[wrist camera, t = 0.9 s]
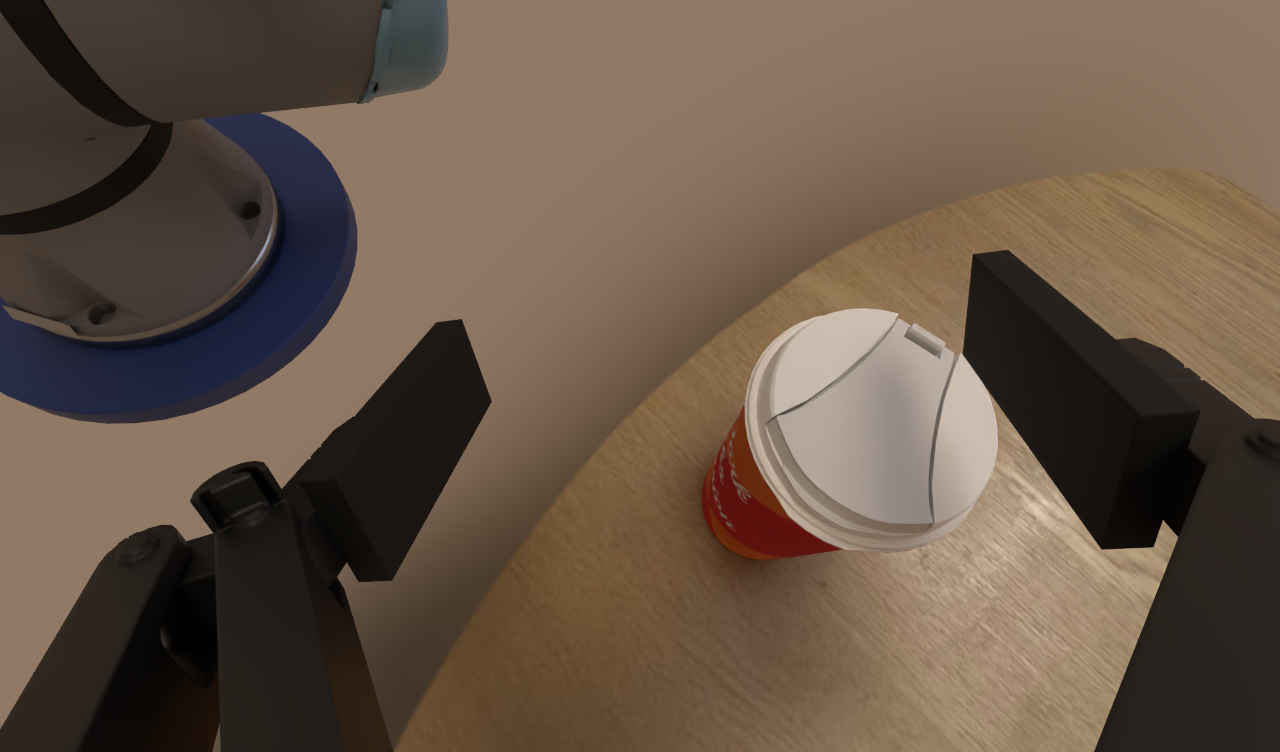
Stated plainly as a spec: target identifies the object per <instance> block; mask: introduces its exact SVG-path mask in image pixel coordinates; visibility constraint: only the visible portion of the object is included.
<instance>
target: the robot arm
mask: <svg viewBox="0 0 1280 752" xmlns="http://www.w3.org/2000/svg"><path fill="white" fill-rule="evenodd" d="M447 52H448V12H447V0H0V297H1V298H2V299H3V300H4V301H5V302H6V303H8V305H9V306H10V307H11V308H9V307H6V306H2V307H3V308H4V309H5V310H6V311H7V312H8V313H9V315H10V316H11V317H12V318H13V319H16V320H19V321H22V322H26V323H29V324H33V325H36V326H39V327H41V328H42V329H44V330H46V331H48V332H50V333H51V334H53V335H55V336H57V337H59V338H61V339H63V340H66V341H69V342H72V343H74V344H78V345H82V346H86V347H92V348H98V349H109V350H131V349H141V348H148V347H154V346H159V345H163V344H167V343H171V342H174V341H177V340H180V339H183V338H186V337H188V336H191V335H193V334H196V333H198V332H200V331H202V330H204V329H206V328H208V327H210V326H212V325H214V324H216V323H217V322H219V321H221V320H222V319H224V318H225V317H227V316H228V315H230V314H231V313H232V312H234V311H235V310H236V309H238V308H239V307H240V306H241V305H242V304H244V303H245V302H246V301H247V300H248V299H249V298H250V297H251V296H252V295H253V294H254V293H255V292H256V291H257V290H258V288H259V287H260V286H261V285H262V284H263V282H264V281H265V280H266V278H267V277H268V275H269V274H270V272H271V270H272V269H273V267H274V265H275V263H276V261H277V259H278V256H279V254H280V251H281V248H282V245H283V240H284V235H285V215H284V210H283V205H282V202H281V199H280V197H279V195H278V193H277V191H276V189H275V187H274V186H273V184H272V183H271V181H270V180H269V179H268V177H267V176H266V174H265V173H264V171H263V170H262V168H261V167H260V165H259V164H258V163H257V162H256V161H255V160H254V158H252V157H251V156H250V155H249V154H248V153H247V152H246V151H245V150H243V149H242V148H241V147H240V146H239V145H237V144H236V143H235V142H233V141H232V140H231V139H229V138H228V137H226V136H225V135H224V134H222V133H221V132H219V131H218V130H217V129H215V128H214V127H212V126H211V125H210V124H208V123H207V122H205V121H204V120H202V119H205V118H215V117H224V116H233V115H243V114H252V113H261V112H271V111H280V110H290V109H299V108H308V107H317V106H327V105H336V104H345V103H355V102H356V103H357V104H364V103H369V102H370V101H372V100H373V99H374V98H375V97H381V96H386V95H392V94H397V93H402V92H407V91H413V90H418V89H422V88H424V87H426V86H428V85H430V84H431V82H433V81H434V80H436V79H437V78H438V77H439V75H440V74H441V72H442V70H443V68H444V66H445V63H446V59H447ZM963 356H964V357H965V359H966V360H967V361H968V363H969V364H970V366H971V367H972V368H973V370H974V371H975V373H976V374H977V376H978V377H979V378H980V380H981V381H982V383H983V384H984V385H985V387H986V388H987V390H988V391H989V392H990V394H991V395H992V397H993V398H994V399H995V401H996V402H997V404H998V405H999V406H1000V408H1001V409H1002V411H1003V412H1004V413H1005V415H1006V416H1007V418H1008V419H1009V420H1010V422H1011V423H1012V425H1013V426H1014V427H1015V429H1016V430H1017V432H1018V433H1019V434H1020V436H1021V437H1022V439H1023V440H1024V441H1025V443H1026V444H1027V446H1028V447H1029V448H1030V450H1031V451H1032V453H1033V454H1034V455H1035V457H1036V458H1037V460H1038V461H1039V462H1040V464H1041V465H1042V467H1043V468H1044V469H1045V471H1046V472H1047V474H1048V475H1049V476H1050V478H1051V479H1052V481H1053V482H1054V483H1055V485H1056V486H1057V488H1058V489H1059V490H1060V492H1061V493H1062V495H1063V496H1064V497H1065V499H1066V500H1067V502H1068V503H1069V504H1070V506H1071V507H1072V509H1073V510H1074V511H1075V513H1076V514H1077V516H1078V517H1079V519H1080V520H1081V521H1082V523H1083V524H1084V526H1085V527H1086V528H1087V530H1088V531H1089V533H1090V534H1091V535H1092V537H1093V538H1094V540H1095V541H1096V542H1097V544H1098V545H1099V547H1100V548H1101V549H1125V548H1148V547H1154V544H1155V541H1156V538H1157V535H1158V533H1159V530H1160V527H1161V524H1162V521H1163V520H1164V521H1165V522H1166V524H1167V525H1168V526H1169V527H1170V528H1171V529H1172V531H1173V532H1174V533H1175V534H1176V535H1177V536H1178V540H1177V543H1176V545H1175V548H1174V550H1173V553H1172V555H1171V558H1170V560H1169V563H1168V565H1167V568H1166V571H1165V573H1164V576H1163V578H1162V581H1161V583H1160V586H1159V588H1158V591H1157V593H1156V596H1155V598H1154V601H1153V604H1152V606H1151V609H1150V611H1149V614H1148V616H1147V619H1146V621H1145V624H1144V626H1143V629H1142V631H1141V634H1140V637H1139V639H1138V642H1137V644H1136V647H1135V649H1134V652H1133V654H1132V657H1131V659H1130V662H1129V664H1128V667H1127V670H1126V672H1125V675H1124V677H1123V680H1122V682H1121V685H1120V687H1119V690H1118V692H1117V695H1116V698H1115V700H1114V703H1113V705H1112V708H1111V710H1110V713H1109V715H1108V718H1107V720H1106V723H1105V725H1104V728H1103V731H1102V733H1101V736H1100V738H1099V741H1098V743H1097V746H1096V748H1095V751H1094V752H1280V421H1279V420H1272V419H1255V418H1253V417H1252V416H1251V415H1249V414H1248V413H1247V412H1245V411H1244V410H1243V409H1241V408H1240V407H1239V406H1238V405H1236V404H1235V403H1234V402H1232V401H1231V400H1230V399H1228V398H1227V397H1226V396H1224V395H1223V394H1222V393H1221V392H1219V391H1218V390H1217V389H1215V388H1214V387H1213V386H1211V385H1210V384H1209V383H1207V382H1206V381H1205V380H1203V381H1201V379H1200V376H1198V375H1197V374H1196V373H1194V372H1193V371H1192V370H1190V369H1189V368H1184V364H1183V363H1181V362H1180V361H1179V360H1177V359H1176V358H1175V357H1173V356H1172V355H1171V354H1169V353H1168V352H1167V351H1166V350H1164V349H1162V348H1159V347H1157V346H1154V345H1152V344H1149V343H1147V342H1144V341H1142V340H1139V339H1137V338H1127V339H1117V340H1116V339H1114V338H1113V337H1112V336H1111V335H1110V334H1108V333H1107V332H1106V331H1105V330H1104V329H1102V328H1101V327H1100V326H1099V325H1098V324H1096V323H1095V322H1094V321H1093V320H1092V319H1090V318H1089V317H1088V316H1087V315H1086V314H1084V313H1083V312H1082V311H1081V310H1080V309H1078V308H1077V307H1076V306H1075V305H1074V304H1072V303H1071V302H1070V301H1069V300H1068V299H1066V298H1065V297H1064V296H1063V295H1062V294H1060V293H1059V292H1058V291H1057V290H1056V289H1054V288H1053V287H1052V286H1051V285H1050V284H1048V283H1047V282H1046V281H1045V280H1044V279H1042V278H1041V277H1040V276H1039V275H1038V274H1036V273H1035V272H1034V271H1033V270H1031V269H1030V268H1029V267H1028V266H1027V265H1025V264H1024V263H1023V262H1022V261H1021V260H1019V259H1018V258H1017V257H1016V256H1015V255H1013V254H1012V253H1011V252H1010V251H1009V250H1003V251H996V252H988V253H980V254H973V258H972V268H971V278H970V288H969V298H968V308H967V317H966V327H965V337H964V347H963ZM490 404H491V398H490V396H489V393H488V390H487V387H486V384H485V382H484V379H483V376H482V373H481V371H480V368H479V365H478V362H477V360H476V357H475V354H474V352H473V349H472V346H471V343H470V341H469V338H468V335H467V332H466V330H465V327H464V324H463V321H462V319H459V320H451V321H444V322H437V323H435V325H434V326H433V327H432V328H431V329H430V330H429V331H428V333H427V334H426V335H425V336H424V337H423V339H421V341H420V342H419V343H418V344H417V345H416V346H415V348H414V349H413V350H412V351H411V352H410V353H409V354H408V356H407V357H406V358H405V359H404V360H403V361H402V362H401V364H400V365H399V366H398V367H397V368H396V369H395V371H394V372H393V373H392V374H391V375H390V376H389V377H388V379H387V380H386V381H385V382H384V383H383V384H382V385H381V387H380V388H379V389H378V390H377V391H376V392H375V394H374V395H373V396H372V397H371V398H370V399H369V400H368V402H367V403H366V404H365V405H364V406H363V407H362V409H361V410H360V411H359V412H358V413H357V414H356V416H354V417H352V418H351V419H349V420H348V421H346V422H345V423H344V424H342V425H341V426H339V427H338V428H337V429H335V430H334V431H333V432H332V433H331V434H330V435H329V437H328V438H327V439H326V440H325V441H324V442H323V443H322V445H321V447H320V448H318V449H317V450H316V451H315V452H314V454H313V455H312V456H311V459H308V460H307V461H306V463H305V464H304V465H303V466H302V467H301V468H300V469H299V470H298V471H297V472H296V474H295V475H294V476H293V477H292V478H291V479H290V480H289V481H288V483H287V484H286V485H285V486H284V487H283V488H282V489H281V488H280V486H279V485H278V483H277V482H276V480H275V478H274V477H273V475H272V474H271V472H270V470H269V469H268V467H267V466H266V465H265V463H263V462H258V461H251V462H245V463H241V464H238V465H235V466H232V467H229V468H227V469H225V470H223V471H221V472H220V473H218V474H216V475H214V476H213V477H211V478H210V479H208V480H207V481H205V482H204V483H203V484H202V485H201V486H200V487H199V488H198V489H197V490H196V491H195V492H194V493H193V495H192V498H191V500H190V502H191V503H192V505H193V506H194V507H195V509H196V510H197V511H198V513H199V514H200V515H201V517H202V518H203V520H204V521H205V522H206V524H207V525H208V526H209V528H210V529H211V530H212V532H213V534H210V535H206V536H203V537H200V538H196V539H193V540H189V541H185V539H184V538H183V537H182V535H181V534H180V533H179V532H178V530H177V529H176V528H175V527H173V526H172V525H160V526H156V527H152V528H148V529H146V530H144V531H141V532H137V533H135V534H133V535H131V536H129V538H128V539H127V538H126V539H124V540H123V541H121V542H120V543H118V545H117V546H116V547H115V548H113V549H112V550H111V551H110V552H109V553H107V554H106V556H105V557H104V558H103V559H102V560H101V562H100V563H99V565H98V566H97V568H96V570H95V571H94V573H93V574H92V576H91V578H90V579H89V581H88V583H87V585H86V586H85V588H84V590H83V591H82V593H81V594H80V596H79V598H78V600H77V601H76V603H75V605H74V606H73V608H72V610H71V611H70V613H69V615H68V616H67V618H66V620H65V621H64V623H63V625H62V626H61V628H60V630H59V632H58V633H57V635H56V637H55V638H54V640H53V642H52V643H51V645H50V647H49V648H48V650H47V652H46V653H45V655H44V657H43V659H42V660H41V662H40V663H39V665H38V667H37V668H36V670H35V672H34V673H33V675H32V677H31V679H30V680H29V682H28V684H27V685H26V687H25V689H24V691H23V692H22V694H21V695H20V697H19V699H18V700H17V702H16V704H15V706H14V707H13V709H12V711H11V712H10V714H9V716H8V717H7V719H6V721H5V722H4V724H3V726H2V727H1V729H0V752H212V750H213V746H214V743H215V738H216V735H217V731H218V727H219V724H220V737H221V752H393V749H392V746H391V742H390V740H389V736H388V732H387V729H386V726H385V723H384V720H383V716H382V713H381V709H380V706H379V703H378V699H377V696H376V693H375V689H374V686H373V683H372V680H371V676H370V673H369V669H368V666H367V663H366V659H365V656H364V653H363V650H362V646H361V643H360V640H359V636H358V633H357V630H356V626H355V623H354V620H353V616H352V613H351V610H350V606H349V603H348V600H347V597H346V593H345V590H344V588H343V586H342V585H341V583H340V581H339V580H338V578H337V576H338V575H339V573H340V571H341V570H342V568H343V567H344V565H345V564H346V562H347V563H348V565H349V567H350V568H351V570H352V572H353V573H354V575H355V576H356V578H357V580H358V581H359V582H371V581H392V580H393V578H394V576H395V574H396V573H397V571H398V569H399V567H400V565H401V564H402V562H403V560H404V558H405V556H406V555H407V553H408V551H409V549H410V547H411V546H412V544H413V542H414V540H415V538H416V536H417V535H418V533H419V531H420V529H421V528H422V526H423V524H424V522H425V520H426V519H427V517H428V515H429V513H430V512H431V510H432V508H433V506H434V504H435V503H436V501H437V499H438V497H439V495H440V494H441V492H442V490H443V488H444V486H445V485H446V483H447V481H448V479H449V477H450V476H451V474H452V472H453V470H454V468H455V467H456V465H457V463H458V461H459V459H460V457H461V456H462V454H463V452H464V451H465V449H466V447H467V445H468V443H469V442H470V440H471V438H472V436H473V434H474V433H475V431H476V429H477V427H478V425H479V424H480V422H481V420H482V418H483V416H484V415H485V413H486V411H487V409H488V407H489V406H490Z"/></svg>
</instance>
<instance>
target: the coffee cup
mask: <svg viewBox="0 0 1280 752" xmlns="http://www.w3.org/2000/svg"><path fill="white" fill-rule="evenodd" d="M897 316H898V314H897V313H893V312H889V311H885V310H877V309H848V310H843V311H837V312H833V313H830V314H827V315H823V316H818V317H814V318H811V319H808V320H806V321H803V322H800V323H798V324H796V325H795V326H793V327H791V328H789V329H788V330H786V331H785V332H783V333H782V334H781V335H780V336H778V337H777V338H776V339H775V340H774V341H773V342H772V343H771V344H770V345H769V346H768V347H767V349H766V350H765V351H764V352H763V353H762V355H761V357H760V358H759V360H758V362H757V364H756V365H755V367H754V369H753V372H752V374H751V377H750V380H749V383H748V386H747V392H746V398H745V405H744V406H743V408H742V410H741V412H740V414H739V415H738V417H737V419H736V421H735V423H734V424H733V426H732V428H731V430H730V431H729V433H728V435H727V437H726V439H725V441H724V442H723V444H722V446H721V448H720V450H719V452H718V454H717V455H716V457H715V459H714V461H713V463H712V465H711V467H710V469H709V471H708V473H707V476H706V478H705V481H704V485H703V490H702V508H703V513H704V517H705V520H706V522H707V524H708V526H709V528H710V530H711V532H712V533H713V534H714V536H715V537H716V538H717V539H718V540H719V541H720V542H721V543H722V544H723V545H724V546H725V547H726V548H728V549H729V550H731V551H732V552H734V553H736V554H738V555H741V556H743V557H747V558H751V559H759V560H769V559H780V558H788V557H795V556H802V555H809V554H816V553H823V552H829V551H835V550H842V549H843V550H858V551H874V552H886V553H889V552H900V551H909V550H912V549H916V548H920V547H923V546H927V545H929V544H931V543H933V542H935V541H937V540H939V539H941V538H943V537H945V536H946V535H947V534H949V533H950V532H951V531H953V530H954V529H955V528H957V527H958V526H959V525H960V524H961V523H962V521H963V520H964V519H965V518H966V517H967V516H968V515H969V514H970V512H971V510H972V509H973V507H974V505H975V504H976V502H977V500H978V498H979V496H980V495H981V493H982V492H983V490H984V488H985V487H986V485H987V483H988V481H989V479H990V477H991V474H992V471H993V468H994V465H995V460H996V454H997V448H998V429H997V423H996V417H995V412H994V409H993V406H992V403H991V400H990V397H989V394H988V392H987V390H986V388H985V386H984V384H983V383H982V381H981V380H980V378H979V377H978V376H977V374H976V373H975V371H974V370H973V368H972V367H971V366H970V364H969V363H968V361H967V360H966V359H965V357H964V356H963V354H962V353H958V354H956V355H955V356H954V353H953V352H952V351H950V350H948V349H947V348H945V347H944V346H945V342H944V341H942V340H941V339H939V338H937V337H936V336H934V335H933V334H931V333H929V332H928V331H926V330H925V329H923V328H921V327H920V326H918V325H917V324H915V323H913V324H912V325H911V326H910V325H909V324H907V323H905V322H904V321H902V320H901V319H898V320H895V319H896V317H897Z"/></svg>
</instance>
